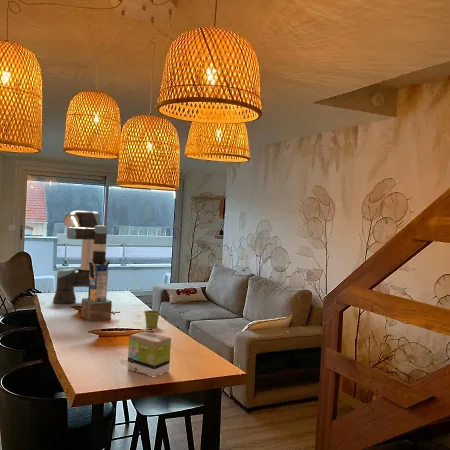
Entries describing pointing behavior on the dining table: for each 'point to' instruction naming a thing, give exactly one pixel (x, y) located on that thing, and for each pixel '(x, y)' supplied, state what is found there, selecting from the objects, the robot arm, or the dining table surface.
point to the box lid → (95, 302)
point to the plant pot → (151, 318)
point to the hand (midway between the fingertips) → (97, 289)
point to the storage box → (96, 311)
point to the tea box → (149, 353)
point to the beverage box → (98, 283)
